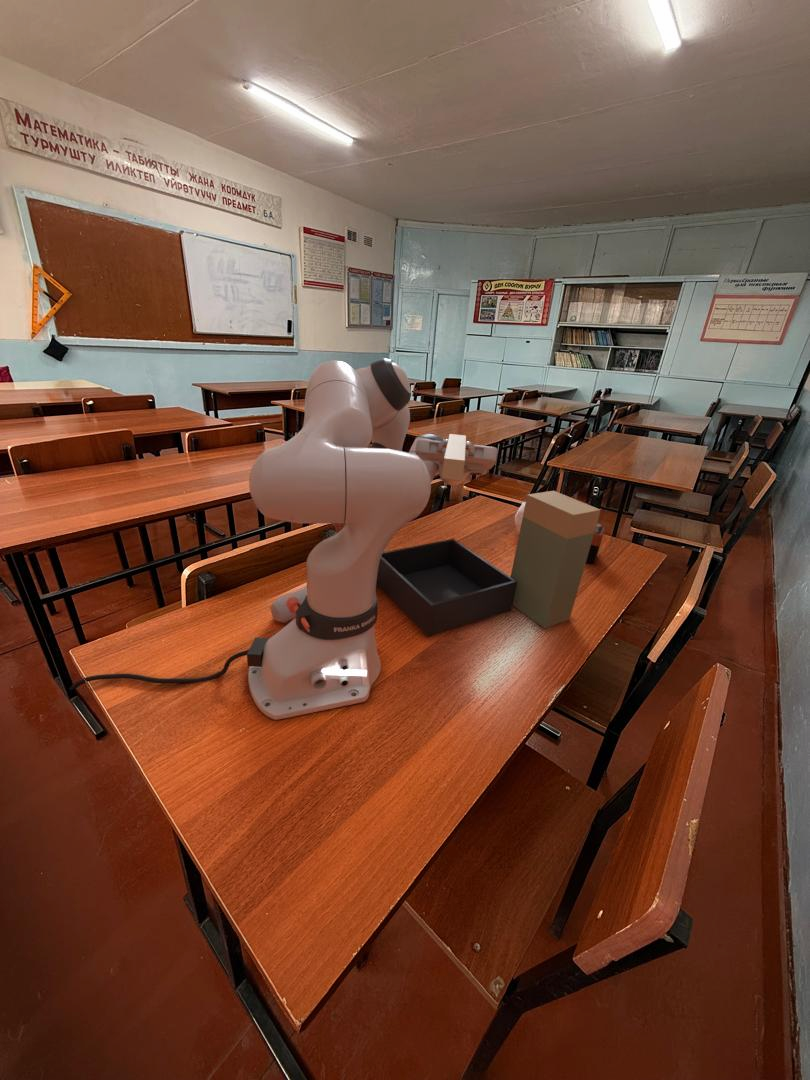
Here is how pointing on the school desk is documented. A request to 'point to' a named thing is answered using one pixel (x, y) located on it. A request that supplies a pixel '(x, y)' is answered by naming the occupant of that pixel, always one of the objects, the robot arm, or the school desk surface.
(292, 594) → the tube
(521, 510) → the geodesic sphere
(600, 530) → the battery
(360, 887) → the school desk surface
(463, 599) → the bin
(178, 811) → the school desk surface
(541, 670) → the school desk surface
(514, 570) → the stand
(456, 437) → the cream rectangular beam
